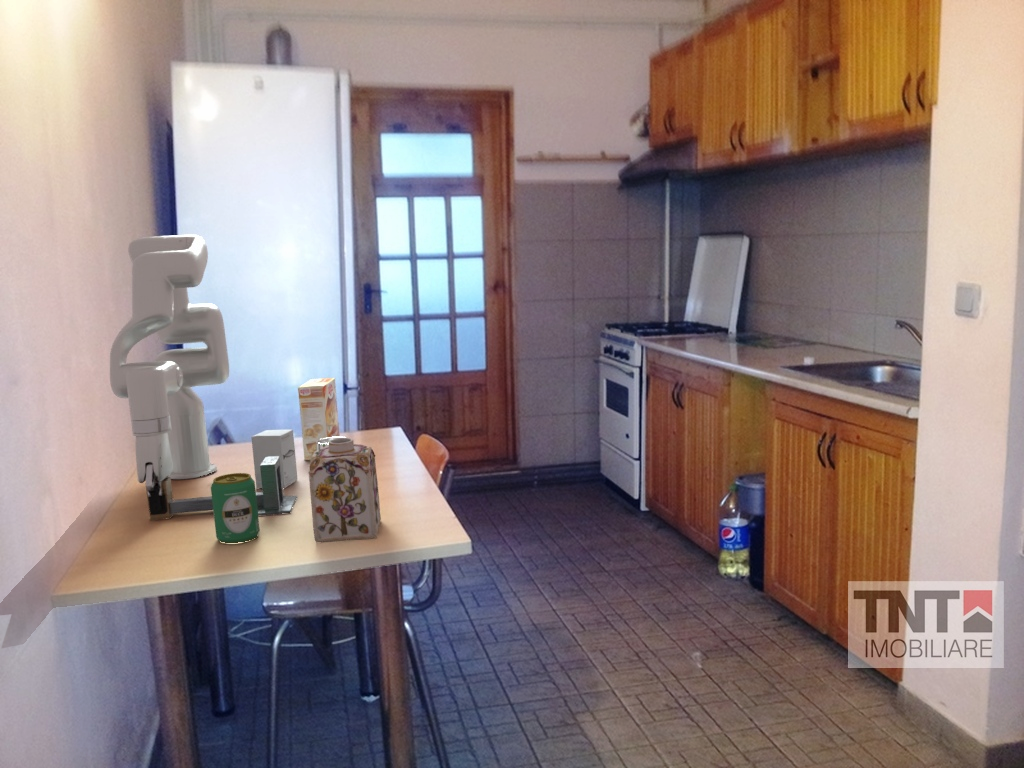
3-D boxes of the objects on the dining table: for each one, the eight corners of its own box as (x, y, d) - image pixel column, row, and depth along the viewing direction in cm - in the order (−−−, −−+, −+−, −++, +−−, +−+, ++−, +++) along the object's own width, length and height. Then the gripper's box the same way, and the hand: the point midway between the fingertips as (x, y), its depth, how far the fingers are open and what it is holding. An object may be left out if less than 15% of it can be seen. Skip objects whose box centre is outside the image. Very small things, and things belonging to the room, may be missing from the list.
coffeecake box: (330, 459, 232) (323, 385, 229) (303, 460, 232) (296, 387, 229) (342, 446, 246) (335, 377, 243) (316, 447, 247) (310, 378, 244)
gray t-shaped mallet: (155, 514, 190) (150, 478, 188) (270, 504, 192) (266, 468, 191) (150, 520, 186) (145, 483, 184) (267, 510, 188) (263, 473, 187)
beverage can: (219, 548, 165) (211, 485, 163) (214, 536, 172) (208, 476, 171) (263, 540, 168) (256, 479, 166) (257, 529, 176) (250, 470, 174)
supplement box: (285, 489, 205) (279, 435, 203) (255, 489, 206) (249, 436, 204) (298, 480, 212) (293, 428, 210) (270, 480, 213) (265, 429, 211)
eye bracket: (260, 500, 196) (255, 455, 194) (297, 497, 197) (292, 452, 195) (250, 516, 184) (245, 468, 182) (290, 513, 185) (285, 465, 183)
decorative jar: (322, 524, 176) (314, 435, 173) (381, 520, 177) (374, 431, 174) (313, 544, 164) (304, 449, 162) (377, 539, 165) (369, 444, 162)
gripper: (144, 419, 193) (154, 501, 195) (120, 435, 176) (131, 524, 179) (179, 417, 193) (189, 498, 196) (159, 432, 177) (170, 520, 180)
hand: (161, 509), depth 188 cm, fingers closed on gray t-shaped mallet, 4 cm apart
